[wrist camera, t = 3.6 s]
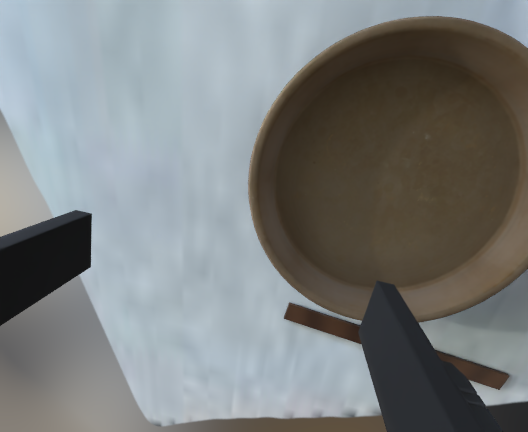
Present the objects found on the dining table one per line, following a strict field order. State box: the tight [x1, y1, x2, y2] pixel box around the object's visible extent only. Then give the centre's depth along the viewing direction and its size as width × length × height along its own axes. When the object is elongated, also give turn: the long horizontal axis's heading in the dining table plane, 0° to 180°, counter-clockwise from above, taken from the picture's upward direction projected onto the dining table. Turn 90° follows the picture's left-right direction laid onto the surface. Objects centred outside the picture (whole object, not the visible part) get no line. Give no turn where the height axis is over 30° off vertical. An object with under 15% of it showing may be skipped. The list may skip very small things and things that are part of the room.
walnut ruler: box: [284, 303, 509, 390], centre depth 39 cm, size 30×2×1 cm, turn 74°
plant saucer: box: [248, 16, 528, 322], centre depth 31 cm, size 31×31×5 cm
